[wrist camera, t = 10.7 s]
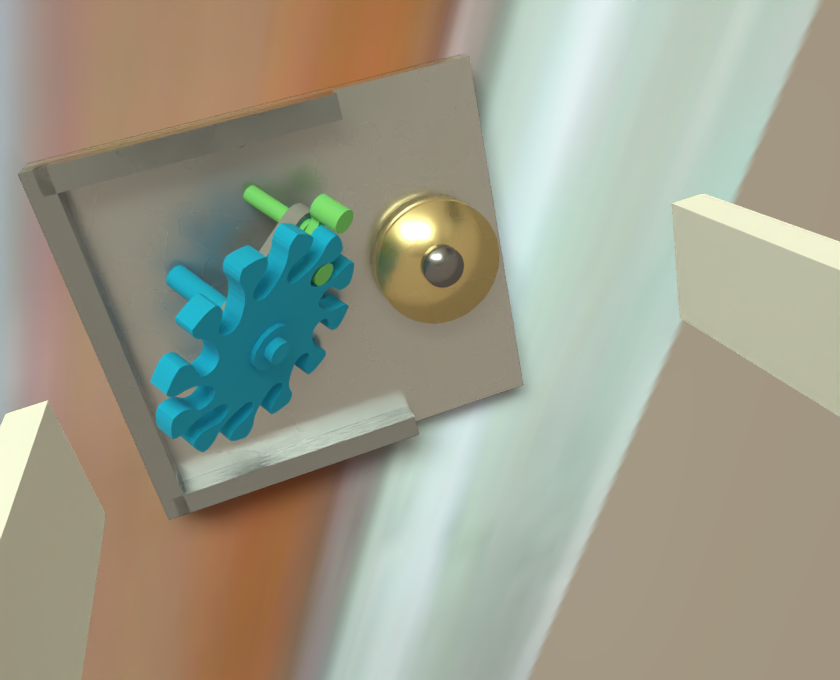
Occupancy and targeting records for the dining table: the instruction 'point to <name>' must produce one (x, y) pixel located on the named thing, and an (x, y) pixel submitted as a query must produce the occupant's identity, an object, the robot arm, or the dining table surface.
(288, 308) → the gear
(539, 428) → the dining table surface
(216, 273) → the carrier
